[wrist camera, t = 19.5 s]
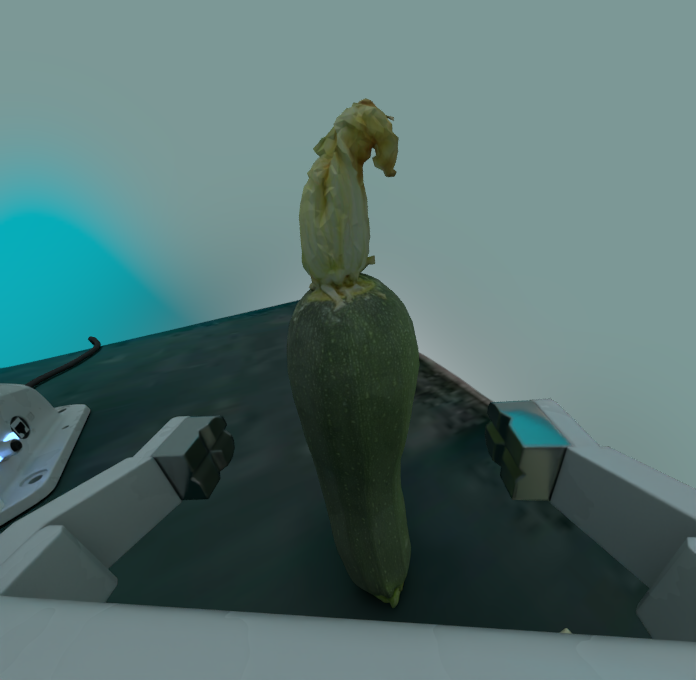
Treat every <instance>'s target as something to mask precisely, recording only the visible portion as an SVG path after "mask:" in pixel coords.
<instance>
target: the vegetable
mask: <svg viewBox="0 0 696 680" xmlns="http://www.w3.org/2000/svg"><path fill="white" fill-rule="evenodd" d="M387 118H389V119H391V120H394V119H393V118H394V117H391V116H387V115H385V114H384V113H383V112H382V111H381V110H380V109H378V108H377V107H376V106H375V105H374V104H373V102H372V101H371V100H368V99H363V100H361V101H359V103H353V105H352V107H351V108H347V109H346V110H345V111H344V112H343V113H342V114H341V115H340V116H338V117H337V119H336V121H335V123H334V127H333V128H332V129H331V131H330V132H329V133H328V134H327V136H326V137H324V138H322V139H321V140H320V141H319V143H318V144H317V145H316V146H315V147H314V148H313V149H314V151H315V152H316V154H317V155H319V156H320V158H318V159H317V160H316V161H315V163H314V164H313V166H312V168H311V170H310V171H309V172H308V173H307V174H308V176H309V179H308V182H307V184H306V185H305V186H304V189H303V194H302V199H301V203H300V212H299V221H300V236H301V247H302V264H303V267H304V269H305V270H306V271H307V273H308V274H309V275H310V276H311V279H312V283H311V284H310V287H309V288H310V290H309V291H308V292H307V293H306V294H305V295H304V296H303V297H302V299H301V300H300V301H299V302H298V303H297V305H296V308H295V310H294V313H293V315H292V318H291V321H290V325H289V330H288V339H287V362H288V375H289V380H290V384H291V389H292V393H293V398H294V401H295V405H296V408H297V411H298V414H299V417H300V421H301V424H302V428H303V432H304V435H305V438H306V442H307V444H308V447H309V450H310V452H311V454H312V458H313V461H314V464H315V467H316V471H317V474H318V478H319V482H320V486H321V489H322V492H323V495H324V499H325V503H326V507H327V511H328V515H329V519H330V524H331V528H332V533H333V537H334V541H335V544H336V547H337V551H338V553H339V555H340V557H341V559H342V561H343V563H344V566H345V568H346V570H347V572H348V574H349V576H350V578H351V579H352V581H353V582H354V583H355V584H356V585H357V586H358V587H360V588H361V589H363V590H365V591H367V592H369V593H370V594H372V595H374V596H376V597H377V598H378V599H380V600H382V601H383V602H385V603H389V602H390V604H391V607H392V608H394V607H396V605H397V604H398V601H399V594H400V591H402V589H403V584H404V580H405V578H406V576H407V572H408V567H409V562H410V556H411V544H410V539H409V534H408V527H407V520H406V511H405V504H404V498H403V493H402V489H401V481H400V460H401V455H402V453H403V450H404V446H405V442H406V438H407V433H408V428H409V423H410V418H411V411H412V404H413V399H414V394H415V388H416V382H417V375H418V369H419V354H418V345H417V341H416V336H415V331H414V327H413V322H412V320H411V318H410V316H409V314H408V312H407V309H406V307H405V305H404V304H403V303H402V301H401V300H400V299H399V298H398V296H397V295H396V294H395V293H394V292H393V291H392V290H390V289H389V288H388V287H387V286H385V285H384V284H383V283H382V282H381V281H379V280H378V279H376V278H374V277H372V276H369V275H366V274H363V273H361V272H362V271H363V270H364V269H365V268H366V267H367V266H368V264H375V256H371V257H368V254H369V240H370V228H369V218H368V209H367V208H368V206H367V197H366V192H365V187H364V183H363V168H362V167H363V164H364V162H365V161H366V160H368V159H369V158H370V156H371V149H372V148H374V149H375V152H376V156H375V157H373V158H372V159H373V162H374V165H375V167H377V168H379V169H381V170H383V171H384V174H385V176H386V177H394V176H395V174H396V171H395V170H394V169H393V168H394V166H395V163H396V158H397V153H398V137H397V136H396V135H395V134H394V133H393V132H392V124H391V123H390V122H389V120H388V119H387Z"/></svg>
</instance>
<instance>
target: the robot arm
mask: <svg viewBox="0 0 696 680" xmlns="http://www.w3.org/2000/svg"><path fill="white" fill-rule="evenodd" d="M88 340H89V341H90V342H91V343H92V344H93V345H94V347H93V348H92V349H91V350H89V351H88V352H86V353H84V354H83V355H81V356H79V357H78V358H76V359H74V360H73V361H71V362H69V363H67V364H65V365H63V366H61V367H59V368H56V369H54V370H52V371H50V372H48V373H46V374H44V375H41V376H39V377H37V378H36V379H34V380H32V381H30V382H29V383H27V384H26V385H19V384H1V383H0V526H1V525H2V524H4V523H6V522H7V521H9V520H11V519H12V518H14V517H15V516H17V515H19V514H20V513H22V512H24V511H25V510H27V509H28V508H30V507H32V506H33V505H35V504H36V503H38V502H39V501H40V500H42V499H43V498H45V497H46V496H47V495H48V494H49V493H50V492H51V491H52V490H53V489H54V488H55V486H56V485H57V482H58V480H59V478H60V476H61V474H62V472H63V469H64V467H65V465H66V463H67V461H68V459H69V456H70V454H71V452H72V450H73V448H74V446H75V443H76V441H77V439H78V437H79V435H80V433H81V430H82V428H83V426H84V424H85V422H86V420H87V417H88V415H89V413H90V409H89V408H88V407H87V406H86V405H82V404H77V405H68V406H62V407H57V408H53V406H52V405H51V404H50V403H49V402H48V401H47V400H46V399H45V398H44V397H43V396H42V395H41V394H40V393H39V392H37V391H36V390H35V389H33V388H32V387H34V386H35V385H37V384H39V383H40V382H42V381H44V380H46V379H48V378H50V377H52V376H54V375H56V374H58V373H61V372H63V371H65V370H67V369H69V368H71V367H73V366H74V365H76V364H78V363H79V362H81V361H83V360H84V359H86V358H87V357H89V356H91V355H92V354H93V353H95V352H96V351H97V350H98V349H99V348H100V346H101V344H100V342H99V341H98V340H97V339H96V338H95V337H89V338H88ZM487 414H488V416H489V418H490V420H491V421H490V422H489V423H488V424H487V425H486V428H485V439H486V445H487V448H488V451H489V454H490V456H491V458H492V460H493V461H494V462H496V463H497V464H498V465H500V466H501V472H500V476H501V478H502V480H503V482H504V484H505V486H506V488H507V490H508V492H509V494H510V496H511V498H512V500H540V501H550V503H551V504H552V505H553V506H554V507H556V508H557V509H558V510H559V511H560V512H561V513H563V514H564V515H565V516H566V517H567V518H568V519H570V520H571V521H572V522H573V523H574V524H575V525H577V526H578V527H579V528H580V529H581V530H582V531H584V532H585V533H586V534H587V535H588V536H589V537H591V538H592V539H593V540H594V541H595V542H596V543H598V544H599V545H600V546H601V547H602V548H603V549H605V550H606V551H607V552H608V553H609V554H610V555H612V556H613V557H614V558H615V559H616V560H617V561H619V562H620V563H621V564H622V565H623V566H624V567H626V568H627V569H628V570H629V571H630V572H631V573H633V574H634V575H635V576H636V577H637V578H638V579H640V580H641V581H642V582H643V583H644V584H645V585H647V586H648V587H649V588H650V589H649V590H648V591H647V593H646V594H645V595H644V597H643V598H642V600H641V601H640V602H639V604H638V606H637V609H636V614H637V616H638V617H639V619H640V620H641V622H642V623H643V625H644V626H645V628H646V629H647V631H648V633H649V634H650V636H651V637H652V639H644V638H629V637H614V636H599V635H584V634H569V633H554V632H539V631H524V630H509V629H494V628H479V627H464V626H449V625H434V624H419V623H404V622H389V621H374V620H359V619H344V618H329V617H314V616H299V615H284V614H269V613H253V612H238V611H223V610H208V609H193V608H178V607H163V606H148V605H133V604H117V603H105V602H106V601H107V599H108V598H109V596H110V595H111V593H112V592H113V590H114V589H115V587H116V586H117V580H118V579H117V578H116V577H115V576H114V575H113V574H112V573H111V572H110V571H109V570H108V568H110V567H111V566H112V565H113V564H114V563H115V562H116V561H117V560H118V559H119V558H121V557H122V556H123V555H124V554H125V553H126V552H127V551H128V550H129V549H130V548H132V547H133V546H134V545H135V544H136V543H137V542H138V541H139V540H140V539H141V538H142V537H144V536H145V535H146V534H147V533H148V532H149V531H150V530H151V529H152V528H153V527H155V526H156V525H157V524H158V523H159V522H160V521H161V520H162V519H163V518H164V517H166V516H167V515H168V514H169V513H170V512H171V511H172V510H173V509H174V508H175V507H177V506H178V505H179V504H180V503H181V502H182V501H181V500H199V499H209V497H210V495H211V494H212V492H213V490H214V489H215V487H216V485H217V483H218V482H219V480H220V471H221V470H223V469H224V468H225V467H226V466H228V465H229V463H230V461H231V459H232V457H233V453H234V448H235V446H234V440H233V437H232V435H231V434H230V433H228V432H227V431H226V430H225V428H226V426H227V424H226V422H225V420H224V418H223V417H222V416H219V415H210V416H178V417H175V418H172V419H171V420H170V421H169V422H168V423H167V424H166V425H165V426H164V427H163V428H162V429H161V430H160V431H159V432H158V433H157V434H156V435H155V436H154V437H153V438H152V439H151V440H150V441H149V442H148V443H147V444H146V445H145V446H144V447H143V448H142V449H141V450H140V451H139V452H138V453H137V454H136V455H135V456H134V457H133V458H127V459H125V460H123V461H121V462H120V463H118V464H116V465H114V466H113V467H111V468H109V469H107V470H106V471H104V472H102V473H100V474H99V475H97V476H95V477H93V478H91V479H90V480H88V481H86V482H84V483H83V484H81V485H79V486H77V487H76V488H74V489H72V490H70V491H69V492H67V493H65V494H63V495H62V496H60V497H58V498H56V499H55V500H53V501H51V502H49V503H48V504H46V505H44V506H42V507H41V508H39V509H37V510H35V511H34V512H32V513H30V514H28V515H27V516H25V517H23V518H21V519H19V520H18V521H16V522H14V523H13V524H12V525H11V526H9V527H8V528H7V529H6V530H5V531H4V532H2V533H1V534H0V680H696V489H695V488H693V487H691V486H689V485H687V484H685V483H683V482H680V481H678V480H676V479H674V478H672V477H670V476H668V475H666V474H664V473H662V472H660V471H658V470H656V469H654V468H652V467H650V466H647V465H646V464H643V463H642V462H639V461H637V460H635V459H633V458H631V457H629V456H627V455H625V454H623V453H621V452H619V451H617V450H615V449H613V448H611V447H609V446H607V447H606V446H600V445H599V444H598V443H597V442H596V441H595V440H594V439H593V438H592V437H591V436H590V435H589V434H588V433H587V432H586V431H585V430H584V429H583V428H582V427H581V426H580V425H579V424H578V423H577V422H576V421H575V420H574V419H573V418H572V417H571V416H570V415H569V414H568V413H567V412H566V411H565V410H564V409H563V408H562V407H561V406H560V405H559V404H558V403H557V402H556V401H554V400H552V399H538V400H529V401H508V402H490V404H489V406H488V411H487Z"/></svg>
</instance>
